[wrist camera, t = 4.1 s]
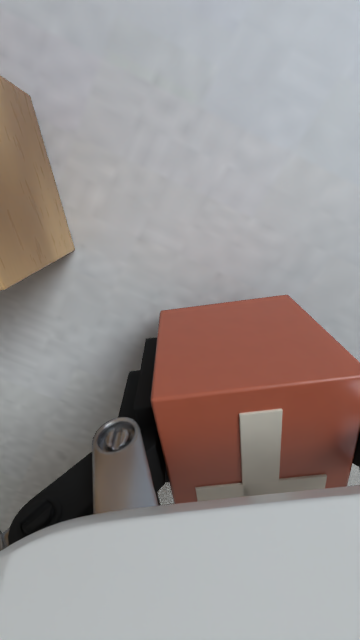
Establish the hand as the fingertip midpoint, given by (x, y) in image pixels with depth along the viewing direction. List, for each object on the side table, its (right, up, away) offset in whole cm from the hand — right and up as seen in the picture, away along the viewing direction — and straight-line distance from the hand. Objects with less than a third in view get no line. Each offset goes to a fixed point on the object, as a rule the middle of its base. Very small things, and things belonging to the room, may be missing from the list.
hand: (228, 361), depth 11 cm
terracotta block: (0, 0, 0) cm, 0 cm away
